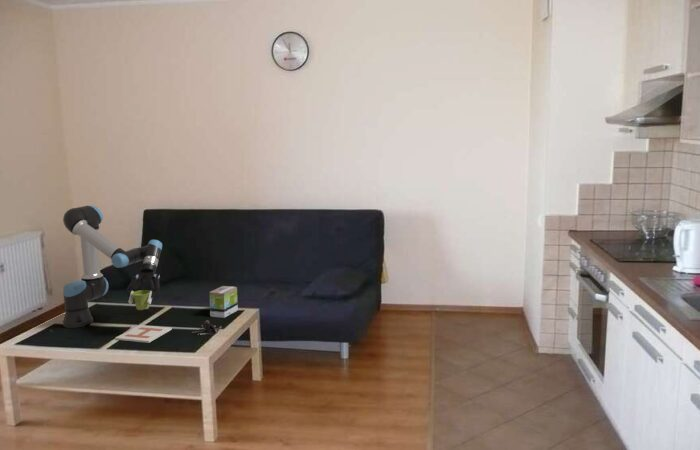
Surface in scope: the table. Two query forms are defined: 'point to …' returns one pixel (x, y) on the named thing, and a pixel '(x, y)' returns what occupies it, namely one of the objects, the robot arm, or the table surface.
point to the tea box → (223, 301)
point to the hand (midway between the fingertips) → (139, 303)
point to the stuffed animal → (208, 329)
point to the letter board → (143, 333)
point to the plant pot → (141, 299)
